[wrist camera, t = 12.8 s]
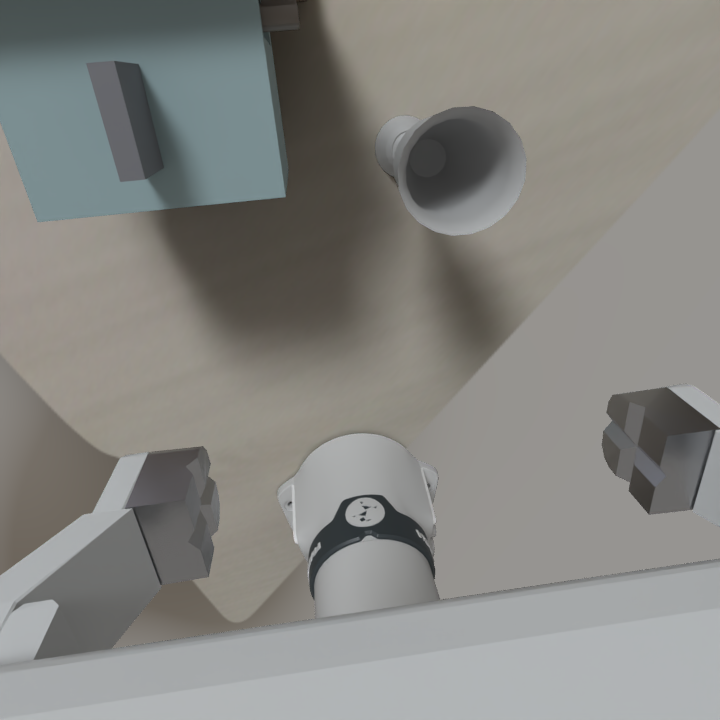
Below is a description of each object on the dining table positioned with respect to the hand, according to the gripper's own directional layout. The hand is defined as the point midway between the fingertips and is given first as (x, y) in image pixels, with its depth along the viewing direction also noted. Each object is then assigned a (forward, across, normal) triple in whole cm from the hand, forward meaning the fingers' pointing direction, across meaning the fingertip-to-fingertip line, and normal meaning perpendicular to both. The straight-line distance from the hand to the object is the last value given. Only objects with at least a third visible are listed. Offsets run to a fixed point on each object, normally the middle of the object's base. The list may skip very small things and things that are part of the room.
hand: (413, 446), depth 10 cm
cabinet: (+34, +10, -7) cm, 36 cm away
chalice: (+39, -7, -2) cm, 40 cm away
